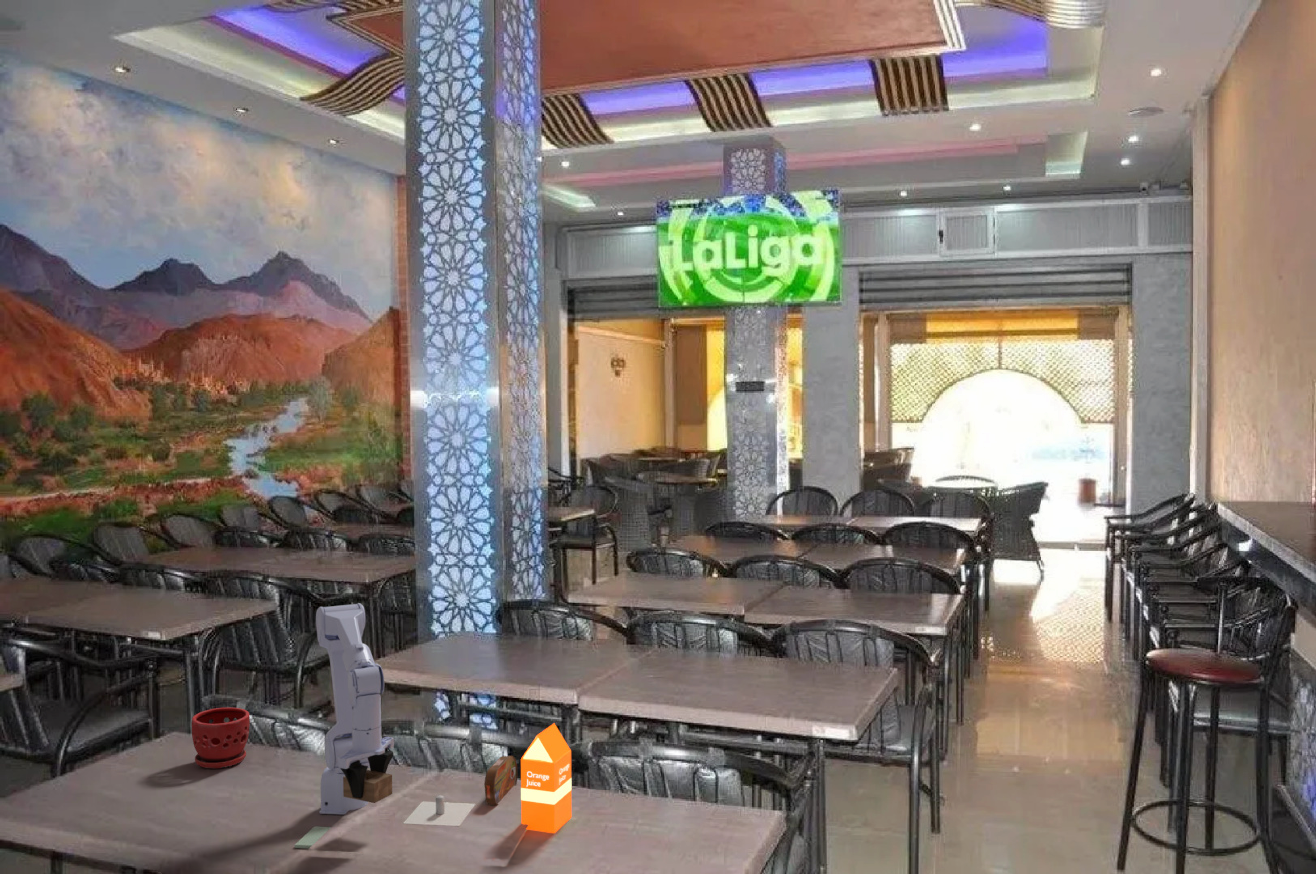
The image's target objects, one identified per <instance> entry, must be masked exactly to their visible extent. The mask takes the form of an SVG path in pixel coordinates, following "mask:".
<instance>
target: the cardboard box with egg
mask: <svg viewBox="0 0 1316 874" xmlns="http://www.w3.org/2000/svg"><path fill="white" fill-rule="evenodd" d="M392 794H393V774H391V773H387V772H386V773H381V772H376V771H371V770H370V769H368V770H367V771H366V774H365V779H364V793H363V798H361V799H359V798H354V797H353V796H352V793H351V789H350V786H349V783H348V781H347V778H346V776H345V777H343V797H347V798H352V799H357V800H362V801H367V802H368V803H372V804H376V803H377V802H379V801H382V800H383V799H385V798H387V797H389V796H391V795H392Z"/></svg>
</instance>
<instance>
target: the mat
mask: <svg viewBox="0 0 1316 874" xmlns="http://www.w3.org/2000/svg"><path fill="white" fill-rule="evenodd" d="M331 828H332V827H331V826H313V827H312V828H311V829H310V830H309V831H308V832H307V833H306V834H304V835H303V837H302V838H300V839H299V840H298V841H297V842H296V843H295V844H294V848H295V849H311V847H313V846H314V845H315V844H316V843H317V842H318V841H319V840H320V839H321V838H322V837H323V836H324V835H325V834H326V833H327V832H328V831H329V830H330V829H331Z"/></svg>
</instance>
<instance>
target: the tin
mask: <svg viewBox="0 0 1316 874" xmlns="http://www.w3.org/2000/svg"><path fill="white" fill-rule="evenodd" d="M518 774H519V773H518V764H517V760H516V757H515V756H514V755H504V756H500V757H499V758H498V759H497V760H496V761H495V762H494V763H493V764H492V765H491V766H490V767H489V768H488V769H487V771H486V773H485V776H484V783H483V784H484V797H485V802H486V804H487V805H490V806H491V805H493V806H498V805H500V804H499V803H500V802H501V801H502V799H504V798H505V796H507V794H508V793H509V792H510V791H511V789H512V788H513V787H515V786H517V783H518Z"/></svg>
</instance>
